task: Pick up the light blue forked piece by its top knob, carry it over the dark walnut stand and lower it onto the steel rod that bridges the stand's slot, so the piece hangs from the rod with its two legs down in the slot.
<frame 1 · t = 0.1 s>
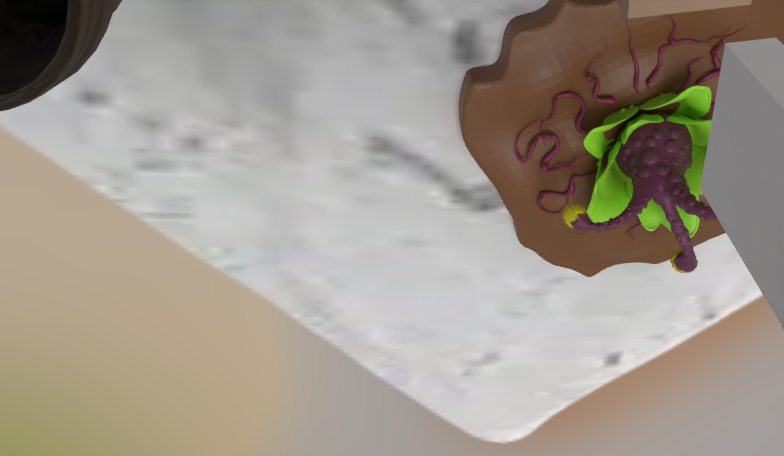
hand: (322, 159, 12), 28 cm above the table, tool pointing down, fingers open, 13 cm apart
plant: (639, 115, 44), on the table
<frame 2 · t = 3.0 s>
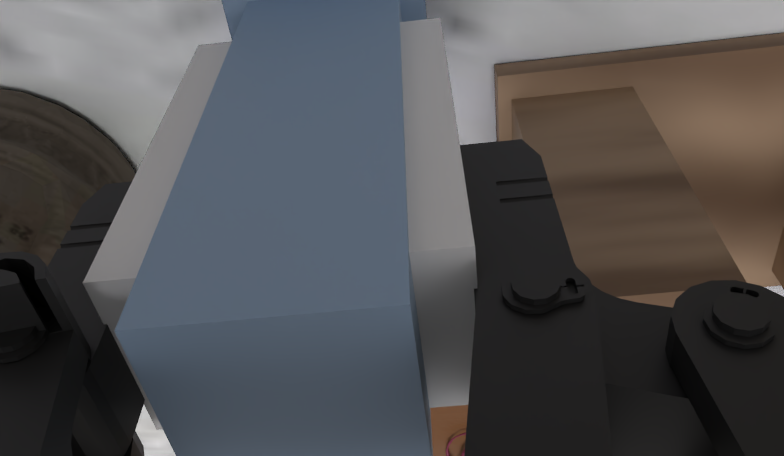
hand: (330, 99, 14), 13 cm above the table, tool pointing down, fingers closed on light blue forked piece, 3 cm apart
hanger stand: (700, 173, 31), on the table
plant: (583, 405, 41), on the table
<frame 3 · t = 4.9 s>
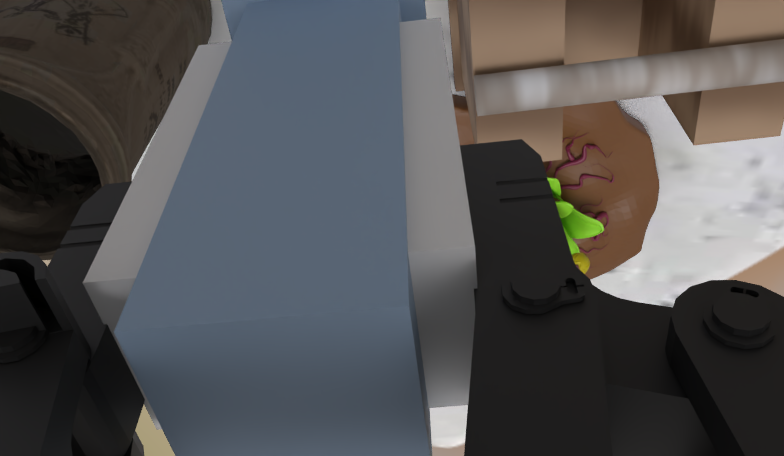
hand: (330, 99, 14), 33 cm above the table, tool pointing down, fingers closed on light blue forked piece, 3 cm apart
plant: (520, 187, 56), on the table
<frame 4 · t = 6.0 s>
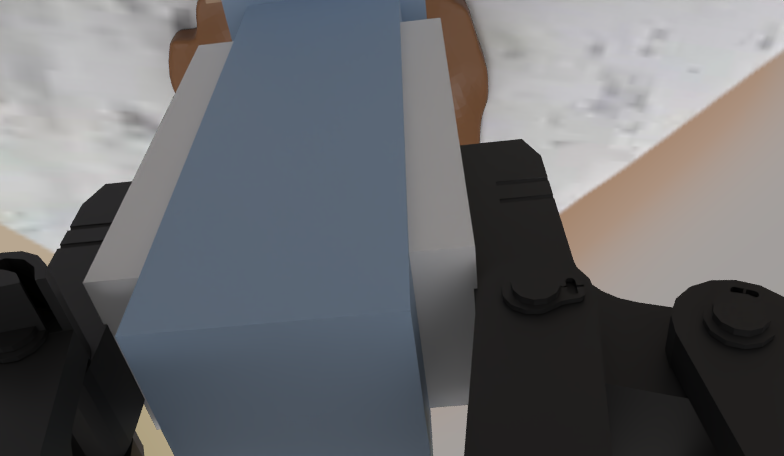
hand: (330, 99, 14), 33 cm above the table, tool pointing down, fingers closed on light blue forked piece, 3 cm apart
plant: (341, 80, 50), on the table
when the fingers open (20 cm above the table, at t = 9.6 s): light blue forked piece drops 1 cm, resting on hanger stand.
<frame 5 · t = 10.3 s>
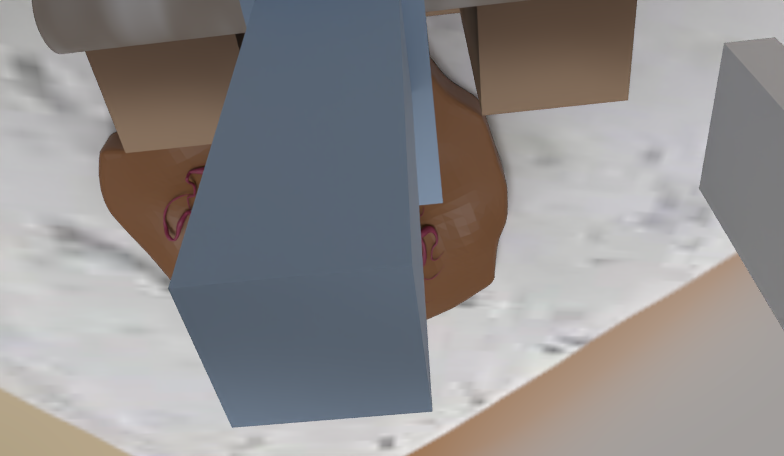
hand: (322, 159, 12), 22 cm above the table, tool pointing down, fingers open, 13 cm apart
plant: (322, 189, 40), on the table
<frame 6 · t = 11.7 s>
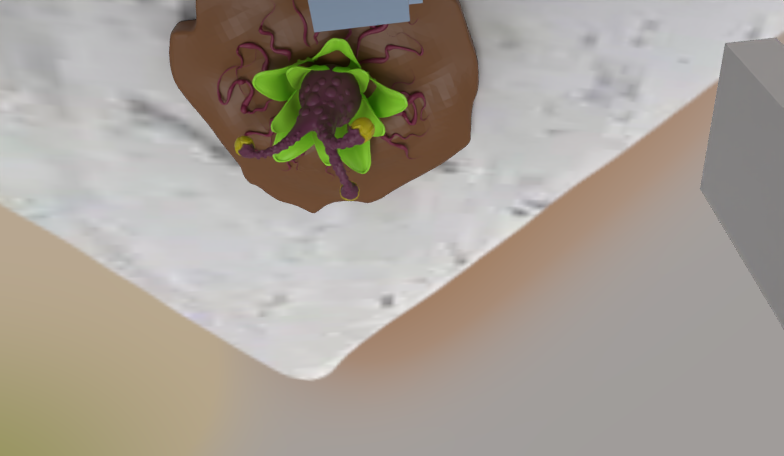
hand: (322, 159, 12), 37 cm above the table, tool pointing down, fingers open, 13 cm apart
plant: (337, 70, 52), on the table
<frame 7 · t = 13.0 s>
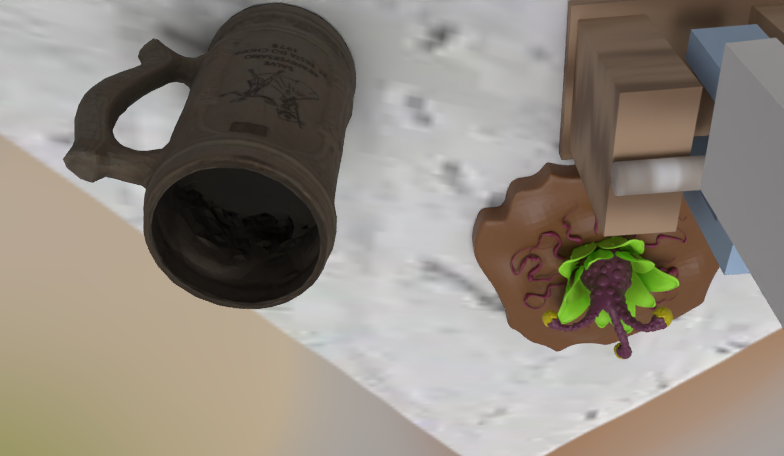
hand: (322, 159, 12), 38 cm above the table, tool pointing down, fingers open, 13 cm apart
hanger stand: (682, 72, 53), on the table
light blue forked piece: (708, 97, 48), point 5 cm above the table, touching hanger stand
plant: (598, 243, 63), on the table
beer stein: (249, 66, 52), on the table
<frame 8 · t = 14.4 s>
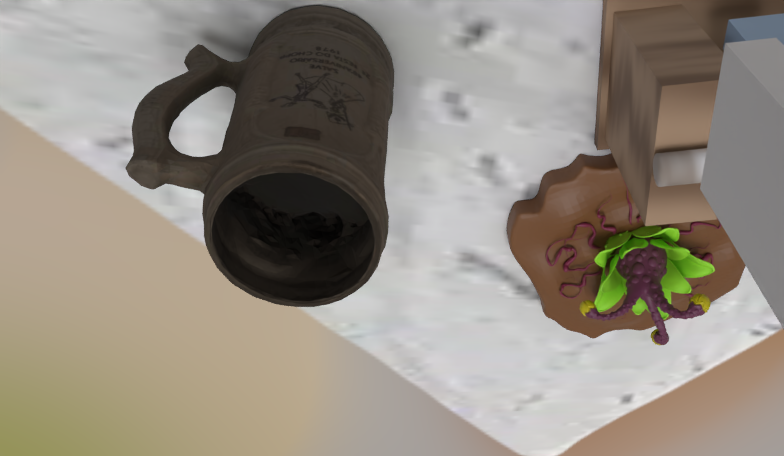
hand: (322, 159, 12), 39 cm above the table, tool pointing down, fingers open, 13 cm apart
hanger stand: (717, 60, 53), on the table
light blue forked piece: (745, 86, 49), point 5 cm above the table, touching hanger stand
plant: (631, 231, 63), on the table
beer stein: (289, 68, 53), on the table
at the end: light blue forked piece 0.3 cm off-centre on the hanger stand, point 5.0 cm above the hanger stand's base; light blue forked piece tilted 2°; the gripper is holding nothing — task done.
